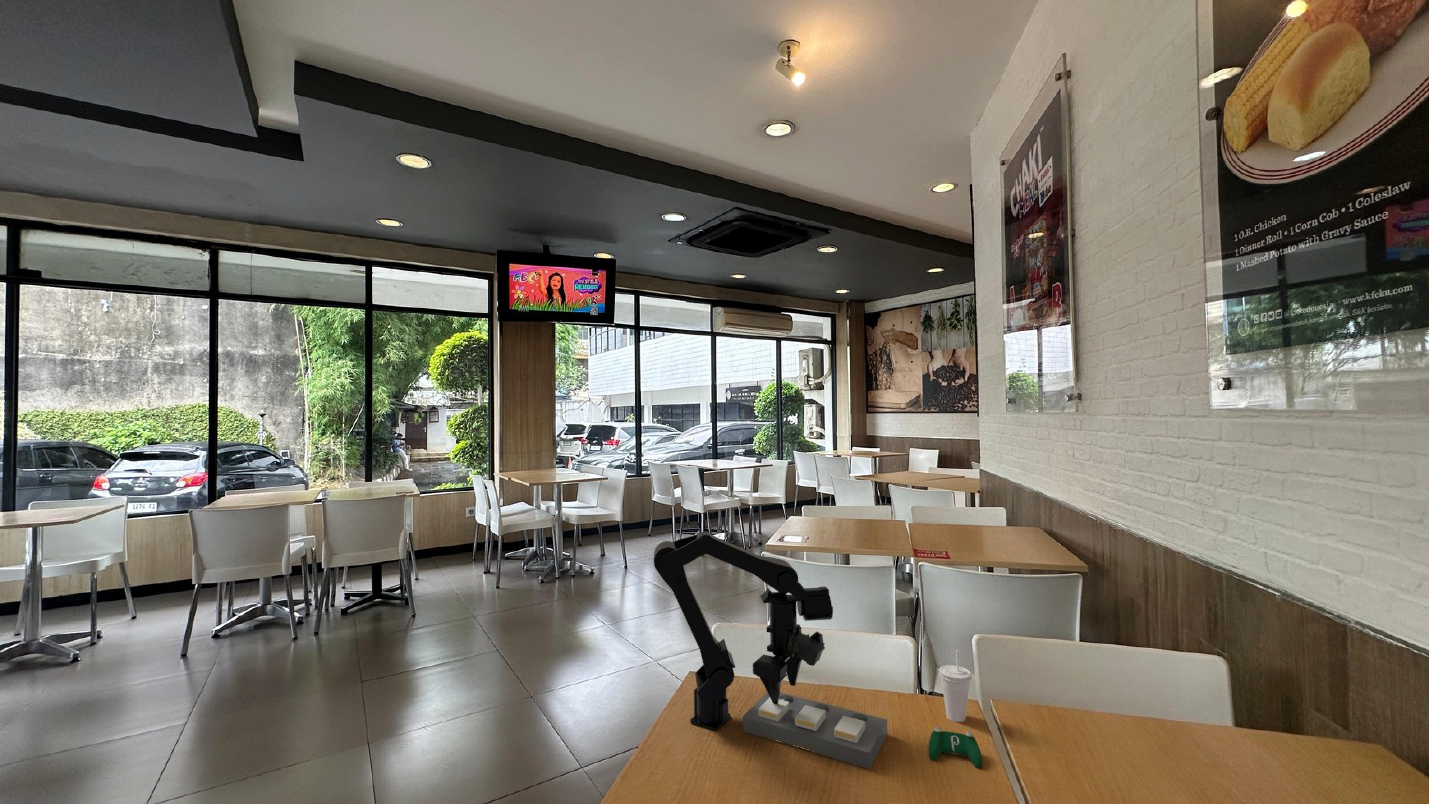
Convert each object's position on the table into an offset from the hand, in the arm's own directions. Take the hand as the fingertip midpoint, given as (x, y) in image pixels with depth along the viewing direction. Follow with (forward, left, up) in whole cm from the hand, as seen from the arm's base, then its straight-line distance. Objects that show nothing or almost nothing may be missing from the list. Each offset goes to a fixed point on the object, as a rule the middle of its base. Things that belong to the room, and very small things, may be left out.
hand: (784, 694), depth 125 cm
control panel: (+8, -3, -4) cm, 10 cm away
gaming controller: (+34, +2, -5) cm, 34 cm away
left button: (0, -5, -1) cm, 6 cm away
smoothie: (+32, +17, -5) cm, 36 cm away
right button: (+16, -5, -1) cm, 17 cm away
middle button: (+8, -5, -1) cm, 10 cm away
